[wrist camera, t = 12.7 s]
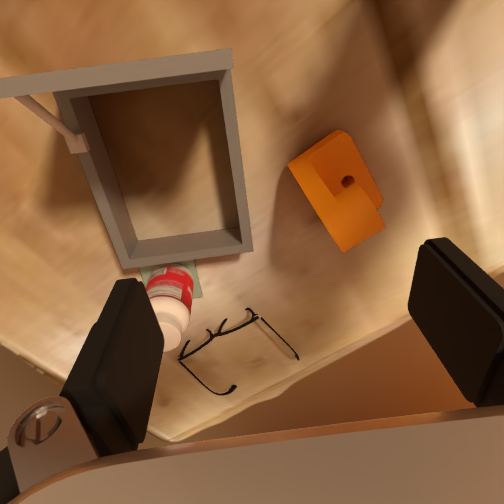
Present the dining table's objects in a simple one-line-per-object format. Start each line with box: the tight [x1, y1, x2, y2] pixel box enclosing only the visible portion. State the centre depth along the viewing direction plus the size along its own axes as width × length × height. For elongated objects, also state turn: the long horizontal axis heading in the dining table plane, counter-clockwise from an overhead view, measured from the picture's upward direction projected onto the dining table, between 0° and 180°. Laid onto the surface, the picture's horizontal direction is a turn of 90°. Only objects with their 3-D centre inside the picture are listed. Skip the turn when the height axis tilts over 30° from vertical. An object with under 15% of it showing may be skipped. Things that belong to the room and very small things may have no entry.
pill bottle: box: [146, 263, 194, 352], centre depth 41 cm, size 6×6×11 cm
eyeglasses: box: [177, 308, 299, 395], centre depth 54 cm, size 16×16×4 cm
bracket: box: [287, 130, 385, 253], centre depth 35 cm, size 11×7×12 cm, turn 35°
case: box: [0, 48, 253, 269], centre depth 31 cm, size 21×16×16 cm
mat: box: [139, 260, 203, 298], centre depth 46 cm, size 8×8×1 cm
